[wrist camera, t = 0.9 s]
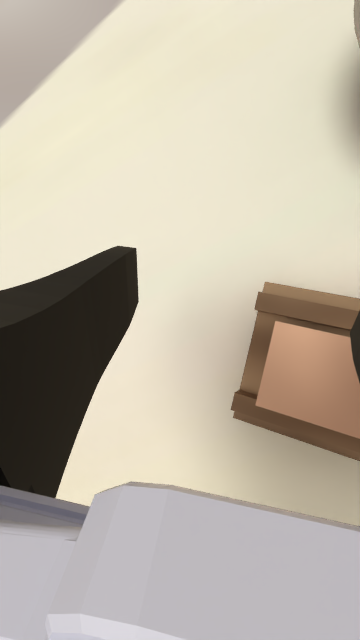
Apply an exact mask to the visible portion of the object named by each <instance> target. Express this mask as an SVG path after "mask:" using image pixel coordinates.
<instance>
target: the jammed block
mask: <svg viewBox="0 0 360 640" xmlns="http://www.w3.org/2000/svg"><path fill="white" fill-rule="evenodd" d="M256 406H259V407H262V408H265V409H268V410H271V411H275V412H278V413H281V414H284V415H287V416H290V417H293V418H296V419H300V420H303V421H306V422H309V423H312V424H315V425H318V426H321V427H324V428H328V429H331V430H334V431H337V432H340V433H343V434H346V435H349V436H353V437H356V438H359V439H360V383H359V380H358V376H357V373H356V369H355V365H354V362H353V356H352V349H351V339H350V337H346V336H341V335H337V334H332V333H328V332H323V331H319V330H314V329H310V328H305V327H301V326H296V325H292V324H287V323H283V322H278V321H275V325H274V329H273V333H272V338H271V342H270V346H269V350H268V354H267V359H266V363H265V367H264V371H263V375H262V380H261V384H260V388H259V392H258V396H257V401H256Z"/></svg>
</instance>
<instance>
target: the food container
mask: <svg viewBox="0 0 360 640" xmlns="http://www.w3.org/2000/svg"><path fill="white" fill-rule="evenodd" d="M354 24H355V32H356V36H357V40H358V43H359V47H360V0H355V3H354Z"/></svg>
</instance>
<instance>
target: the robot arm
mask: <svg viewBox="0 0 360 640" xmlns="http://www.w3.org/2000/svg"><path fill="white" fill-rule="evenodd" d="M137 304H138V278H137V254H136V248H131V247H123V246H116V247H113V248H110V249H108V250H106V251H103V252H101V253H99V254H97V255H94V256H92V257H90V258H88V259H86V260H84V261H81V262H79V263H77V264H75V265H73V266H70V267H68V268H66V269H63V270H61V271H58V272H56V273H53V274H51V275H49V276H46V277H43V278H41V279H38V280H35V281H32V282H29V283H26V284H22V285H19V286H16V287H13V288H9V289H5V290H1V291H0V640H360V527H359V526H355V525H350V524H346V523H341V522H337V521H332V520H328V519H323V518H318V517H314V516H309V515H305V514H300V513H296V512H291V511H287V510H282V509H278V508H273V507H269V506H264V505H259V504H255V503H250V502H246V501H241V500H237V499H232V498H228V497H223V496H219V495H214V494H210V493H205V492H200V491H196V490H191V489H187V488H182V487H178V486H173V485H165V484H153V483H141V482H129V483H126V484H122V485H119V486H116V487H113V488H110V489H107V490H104V491H102V492H100V493H98V494H95V496H94V498H93V501H92V503H91V506H90V507H89V506H85V505H81V504H77V503H72V502H68V501H64V500H60V499H55V497H56V494H57V491H58V488H59V485H60V482H61V479H62V476H63V473H64V470H65V467H66V464H67V462H68V459H69V456H70V453H71V450H72V448H73V445H74V442H75V439H76V437H77V434H78V431H79V429H80V426H81V424H82V421H83V418H84V416H85V413H86V411H87V408H88V406H89V403H90V401H91V399H92V396H93V394H94V391H95V389H96V387H97V384H98V382H99V380H100V378H101V376H102V374H103V373H104V371H105V369H106V367H107V365H108V364H109V362H110V360H111V358H112V356H113V355H114V353H115V351H116V349H117V348H118V346H119V344H120V342H121V340H122V338H123V337H124V335H125V333H126V331H127V329H128V327H129V326H130V323H131V321H132V318H133V315H134V313H135V310H136V307H137ZM350 339H351V349H352V356H353V362H354V365H355V369H356V373H357V376H358V380H359V383H360V311H359V313H358V315H357V318H356V320H355V322H354V324H353V327H352V329H351V331H350Z"/></svg>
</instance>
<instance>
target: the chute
mask: <svg viewBox="0 0 360 640" xmlns="http://www.w3.org/2000/svg"><path fill="white" fill-rule="evenodd" d="M255 310H257V311H258V314H257V318H256V322H255V327H254V331H253V335H252V339H251V344H250V348H249V352H248V356H247V361H246V365H245V369H244V373H243V378H242V382H241V386H240V390H238V391H237V392H235V394H234V398H233V402H232V407H231V410H233V411H235V412H234V416H233V418H236V419H239V420H242V421H244V422H247V423H250V424H253V425H256V426H259V427H262V428H265V429H268V430H271V431H274V432H277V433H279V434H282V435H285V436H288V437H291V438H294V439H297V440H300V441H303V442H306V443H309V444H312V445H314V446H317V447H320V448H323V449H326V450H329V451H332V452H335V453H338V454H341V455H344V456H346V457H349V458H352V459H355V460H358V461H360V439H359V438H356V437H353V436H349V435H346V434H343V433H340V432H337V431H334V430H331V429H328V428H324V427H321V426H318V425H315V424H312V423H309V422H306V421H303V420H300V419H296V418H293V417H290V416H287V415H284V414H281V413H278V412H275V411H271V410H268V409H265V408H262V407H259V406H256V401H257V396H258V392H259V388H260V384H261V380H262V375H263V371H264V367H265V363H266V359H267V354H268V350H269V346H270V342H271V338H272V333H273V329H274V325H275V321H278V322H283V323H287V324H292V325H296V326H301V327H305V328H310V329H314V330H319V331H323V332H328V333H332V334H337V335H341V336H346V337H350V331H351V329H352V327H353V324H354V322H355V320H356V318H357V315H358V313H359V311H360V299H358V298H352V297H347V296H341V295H335V294H330V293H324V292H319V291H313V290H308V289H302V288H296V287H291V286H285V285H280V284H274V283H269V282H265V284H264V288H263V293H262V292H258V296H257V300H256V305H255Z"/></svg>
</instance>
